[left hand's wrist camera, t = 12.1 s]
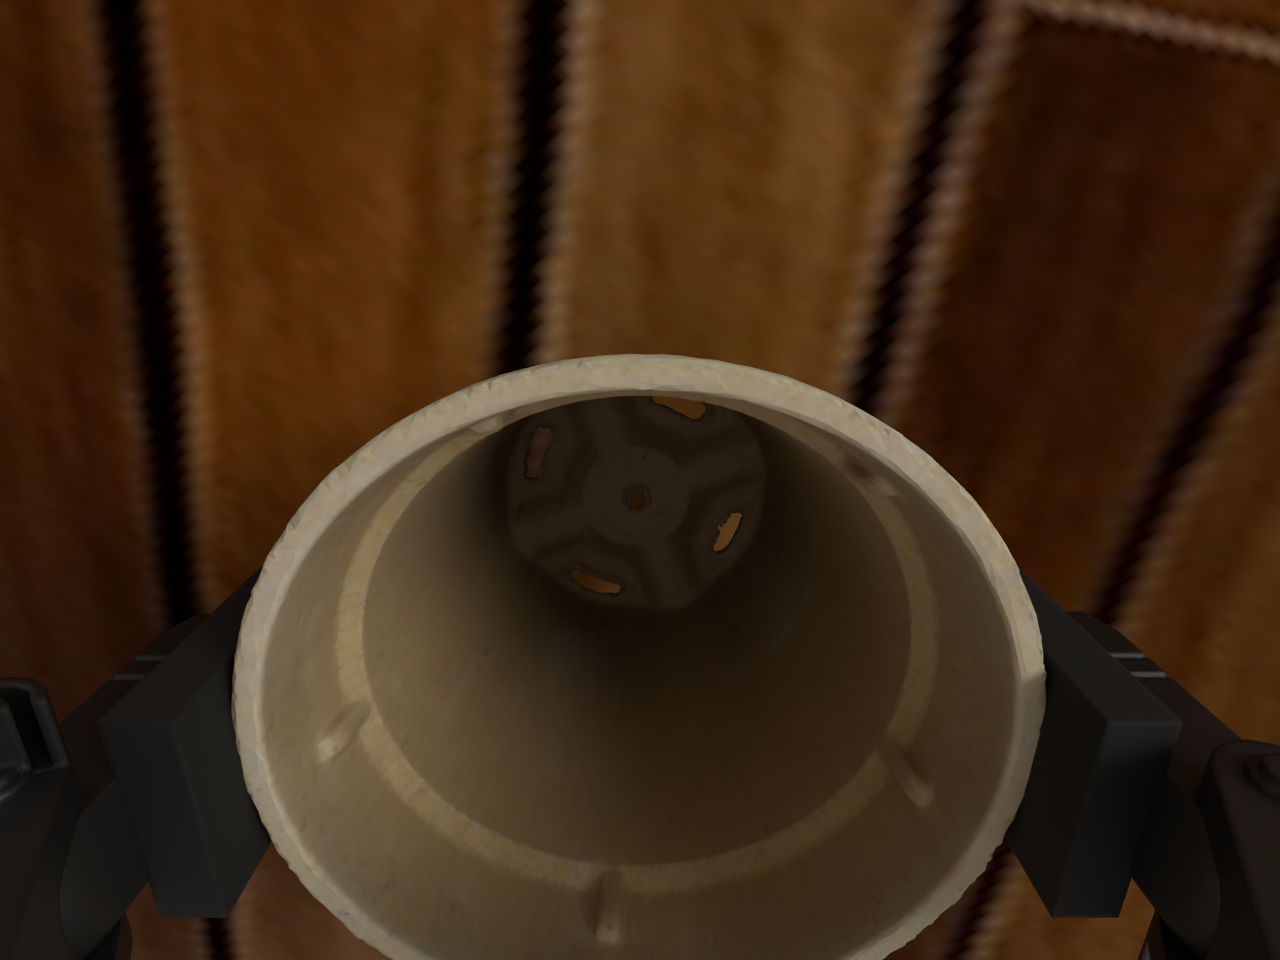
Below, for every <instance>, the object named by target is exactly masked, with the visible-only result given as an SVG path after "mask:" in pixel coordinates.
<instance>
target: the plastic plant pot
mask: <svg viewBox="0 0 1280 960" xmlns="http://www.w3.org/2000/svg"><path fill="white" fill-rule="evenodd" d="M653 396H661V397H677V398H683V399H688V400H693V401H699V402H702V403H703V404H704V406H705V407H706V412H705V413H704V414H703V415H702V416H701V418H699V419H696V420H695V419H691V418H689V417H687V416H685V415H683V414H681V413H679V412H676V411H675V410H673V409H671V408H670V407H668V406H665V405H662V404H660V403H657V404H656V403H654V401H653V399H652V398H653ZM538 427H543V428H550V430H551V431H552V433H553V435H554V440H553V442H552V444H551V445H550V447H549V448H548V450H547V452H546V453H545V455H544V457H543V460H542V463H541V467H540V470H539V473H538V475H537V477H535V478H529V477H527V476H525V473H526V471H527V464H526V458H527V455H528V451H529V448H530V445H531V442H532V439H533V435H534V432H535V431H536V429H537V428H538ZM635 492H640V493H643V495H644V497H645V503H644V504H643V505H642V506H640V507H630V506H629V505H628V503H627V499H626V496H627V495H628V494H631V493H635ZM732 513H741V514H742V517H741V519H740V523H739V525H738V528H737V530H736V531H735V533H734V535H733V538H732V540H731V541H730V543H729V544H728V545H727V546H726V547H725V548H724V549H722V550H720V551H714V549H713V545H714V544H715V543H716V541H717V538H718V537H719V534H720V530H718V526H719V525H720V526H721V527H722V526H723V525H724V524H725V523H726V522H727V519H728V518H729V517H730V515H731V514H732ZM573 569H578V570H580V571H581V572H584V573H587V574H589V575H592V576H594V577H597V578H600V579H602V580H604V581H606V582H610V583H617V584H619V585H620V586H621V589H620V592H619V593H600V592H596V591H594V590H593V589H589V588H585V587H584V586H581V585H580V584H578V583H577V582H576V580H575V579H574V578H573V577H572V575H571V571H572V570H573ZM1041 640H1042V637H1041V634H1040V631H1039V625H1038V621H1037V616H1036V613H1035V610H1034V608H1033V605H1032V603H1031V600H1030V598H1029V595H1028V593H1027V590H1026V588H1025V586H1024V583H1023V581H1022V578H1021V576H1020V573H1019V568H1018V566H1017V565H1016V563H1015V561H1014V559H1013V557H1012V555H1011V553H1010V552H1009V550H1008V548H1007V546H1006V545H1005V543H1004V541H1003V540H1002V538H1001V536H1000V535H999V533H998V532H997V531H996V529H995V528H994V526H993V525H992V523H991V522H990V521H989V519H988V518H987V516H986V515H985V513H984V512H983V511H982V509H981V508H980V507H979V505H978V504H977V503H976V502H975V500H974V499H973V498H972V496H971V495H970V494H969V493H968V492H967V491H966V490H965V489H964V488H963V487H962V486H961V485H960V484H959V483H958V482H957V481H956V480H955V479H954V478H953V477H952V476H951V475H949V474H948V473H947V472H946V471H945V470H944V469H943V468H942V467H941V466H940V465H939V464H938V463H937V462H936V461H934V460H933V459H932V458H931V457H930V456H929V455H928V454H927V453H925V452H924V451H923V450H921V449H920V448H919V447H918V446H916V445H915V444H913V443H912V442H910V441H909V440H908V439H906V438H905V437H904V436H903V435H902V434H900V433H899V432H897V431H895V430H894V429H892V428H891V427H889V426H888V425H886V424H884V423H883V422H881V421H879V420H878V419H876V418H874V417H873V416H871V415H869V414H868V413H866V412H864V411H862V410H860V409H859V408H857V407H855V406H853V405H851V404H849V403H847V402H846V401H844V400H842V399H840V398H838V397H836V396H834V395H832V394H829V393H827V392H825V391H822V390H820V389H817V388H815V387H812V386H810V385H807V384H805V383H802V382H800V381H797V380H794V379H792V378H789V377H787V376H783V375H779V374H775V373H772V372H768V371H764V370H760V369H756V368H752V367H748V366H742V365H736V364H731V363H727V362H722V361H717V360H710V359H699V358H692V357H686V356H678V355H665V354H653V355H643V354H620V355H604V356H593V357H585V358H576V359H568V360H561V361H556V362H551V363H546V364H541V365H537V366H533V367H529V368H525V369H522V370H518V371H514V372H510V373H506V374H502V375H499V376H496V377H493V378H490V379H487V380H485V381H482V382H479V383H476V384H473V385H471V386H468V387H466V388H464V389H462V390H459V391H457V392H455V393H453V394H451V395H448V396H446V397H444V398H442V399H440V400H438V401H436V402H434V403H432V404H430V405H428V406H426V407H424V408H422V409H420V410H418V411H416V412H414V413H413V414H411V415H409V416H407V417H406V418H404V419H402V420H401V421H399V422H397V423H396V424H394V425H392V426H391V427H389V428H388V429H386V430H385V431H383V432H382V433H381V434H379V435H378V436H376V437H375V438H373V439H372V440H371V441H369V442H368V443H367V444H365V445H364V446H363V447H361V448H360V449H359V450H358V451H356V452H355V453H354V454H353V455H351V456H350V457H349V458H348V459H347V460H346V461H344V462H343V463H342V464H341V465H339V466H338V467H337V468H335V469H334V470H332V471H331V472H330V474H329V475H328V476H327V477H326V478H325V479H324V480H323V481H322V482H321V483H320V484H319V485H318V486H317V488H316V489H315V490H314V491H313V492H312V493H311V494H310V495H309V496H308V498H307V499H306V500H305V502H304V503H303V504H302V505H301V507H300V508H299V509H298V510H297V512H296V514H295V515H294V516H293V517H292V519H291V520H290V522H289V523H288V525H287V527H286V529H285V530H284V532H283V534H282V535H281V537H280V538H279V540H278V541H277V542H276V544H275V545H274V546H273V548H272V550H271V551H270V553H269V555H268V556H267V558H266V560H265V562H264V564H263V567H262V571H261V573H260V576H259V578H258V581H257V582H256V584H255V586H254V587H253V589H252V591H251V597H250V599H249V601H248V603H247V605H246V609H245V612H244V616H243V619H242V623H241V627H240V631H239V637H238V644H237V648H236V652H235V664H234V672H233V683H232V707H231V708H232V719H233V726H234V731H235V737H236V744H237V749H238V753H239V755H240V760H241V766H242V770H243V776H244V780H245V783H246V787H247V792H248V793H249V794H250V796H251V798H252V800H253V802H254V804H255V806H256V808H257V809H258V812H259V815H260V818H261V821H262V823H263V825H264V826H265V827H266V829H267V831H268V833H269V835H270V838H271V840H272V842H273V843H274V845H275V847H276V850H277V852H278V853H279V854H280V855H281V856H282V857H283V858H284V859H285V860H286V861H287V863H288V866H289V869H291V870H292V871H293V872H294V873H295V874H296V875H297V876H298V878H299V880H300V881H301V883H302V884H303V885H304V886H305V887H306V888H307V889H308V890H309V892H310V893H311V894H312V895H313V896H314V898H316V899H317V900H318V901H320V902H321V903H322V904H323V905H324V906H325V907H326V908H327V909H328V910H329V911H330V912H331V913H332V914H333V915H335V916H336V917H337V918H338V919H340V920H341V921H342V922H343V923H344V924H345V926H346V927H347V928H348V929H349V930H350V931H351V932H352V933H353V934H354V935H355V936H356V937H357V938H359V939H362V940H364V941H365V942H366V943H367V944H368V945H370V946H372V947H374V948H376V949H377V950H379V951H380V952H381V953H383V954H384V955H386V956H387V957H389V958H391V959H393V960H882V959H884V958H885V957H886V956H887V955H888V954H889V953H891V952H893V951H895V950H897V949H899V948H901V947H903V946H905V944H906V943H907V942H908V941H910V940H912V939H915V937H916V935H917V934H918V933H920V932H921V931H922V929H924V928H925V927H926V926H928V925H930V924H933V922H934V921H935V919H936V918H937V917H938V916H939V915H940V914H941V913H942V912H944V911H945V910H946V909H947V908H948V907H950V906H951V905H953V904H955V903H956V902H957V901H958V900H959V899H960V897H961V896H962V894H963V892H964V891H965V890H966V888H967V887H968V886H969V885H970V884H971V883H973V882H975V880H976V878H977V877H978V876H979V875H980V874H981V873H982V872H984V871H985V869H986V865H987V862H988V861H990V860H991V859H992V853H993V851H994V849H995V848H996V847H997V846H998V845H1000V844H1002V841H1003V837H1004V834H1005V832H1006V831H1007V829H1008V827H1009V825H1010V824H1011V823H1012V821H1013V820H1014V818H1015V815H1016V812H1017V810H1018V808H1019V806H1020V803H1021V801H1022V800H1023V797H1024V793H1025V789H1026V785H1027V782H1028V779H1029V775H1030V771H1031V767H1032V763H1033V758H1034V755H1035V751H1036V747H1037V743H1038V739H1039V735H1040V728H1041V725H1042V721H1043V717H1044V712H1045V705H1046V686H1045V679H1046V671H1045V669H1044V664H1043V649H1042V643H1041Z"/></svg>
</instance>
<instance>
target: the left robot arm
mask: <svg viewBox="0 0 1280 960" xmlns="http://www.w3.org/2000/svg"><path fill="white" fill-rule="evenodd" d="M262 567H263V566H262ZM262 567H260V568H259V569H258V570H257V571H256V572H255V573H254V574H253V575H252V576H251V577H250V578H249V579H248V580H247V581H246V582H245V583H244V584H242V585H241V586H240V587H239V588H238V589H237V590H236V591H235V592H234V593H233V594H232V595H231V596H230V597H229V598H228V599H227V600H225V601H224V602H223V603H222V604H221V605H220V606H219V607H218V608H217V609H216V610H215V611H214V612H213V613H212V614H197V615H195V616H193V617H191V618H189V619H188V620H186V621H184V622H182V623H180V624H178V625H176V626H175V627H173V628H171V629H169V630H167V631H165V632H164V633H162V634H160V635H159V636H158V637H157V638H156V639H155V640H154V641H153V642H151V643H150V644H149V645H148V646H147V647H146V648H145V649H144V650H142V651H141V652H140V653H139V654H138V655H137V656H136V660H135V661H130V662H129V663H128V664H127V665H125V666H124V667H123V668H122V669H121V670H120V671H119V672H118V673H116V674H115V675H114V680H109V681H107V682H106V683H105V684H104V685H103V686H102V687H101V688H99V689H98V690H97V691H96V692H95V693H94V694H93V695H92V696H90V697H89V698H88V699H87V700H86V701H85V702H84V703H83V704H81V705H80V706H79V707H78V708H77V709H76V710H75V711H74V712H72V713H71V714H70V715H69V716H68V717H67V718H66V719H65V720H63V721H62V722H61V723H60V724H59V723H58V721H57V718H56V715H55V712H54V709H53V706H52V704H51V701H50V698H49V695H48V692H47V690H46V687H45V685H43V684H41V683H39V682H38V681H36V680H34V679H31V678H17V677H7V678H0V960H130V958H131V951H132V944H133V940H132V934H131V927H130V924H129V921H128V918H127V915H126V912H125V911H126V910H127V908H128V907H129V906H130V904H131V903H132V902H133V900H134V899H135V898H136V896H137V895H138V893H139V892H140V891H141V889H142V888H143V887H144V885H145V884H146V883H147V881H149V884H150V887H151V890H152V893H153V896H154V899H155V902H156V905H157V908H158V911H159V914H160V917H161V918H227V917H228V916H229V914H230V912H231V910H232V909H233V907H234V905H235V903H236V902H237V900H238V898H239V897H240V895H241V893H242V891H243V890H244V888H245V886H246V885H247V883H248V881H249V879H250V878H251V876H252V874H253V873H254V871H255V869H256V867H257V866H258V864H259V862H260V861H261V859H262V857H263V855H264V854H265V852H266V850H267V849H268V847H269V845H270V843H271V842H272V840H271V838H270V835H269V833H268V831H267V829H266V827H265V826H264V825H263V823H262V821H261V818H260V815H259V812H258V809H257V808H256V806H255V804H254V802H253V800H252V798H251V796H250V794H249V793H248V792H247V787H246V783H245V780H244V776H243V770H242V766H241V760H240V755H239V753H238V749H237V744H236V737H235V731H234V726H233V719H232V708H231V707H232V683H233V672H234V664H235V652H236V648H237V644H238V637H239V631H240V627H241V623H242V619H243V616H244V612H245V609H246V605H247V603H248V601H249V599H250V597H251V591H252V589H253V587H254V586H255V584H256V582H257V581H258V578H259V576H260V573H261V571H262ZM1018 568H1019V567H1018ZM1019 573H1020V576H1021V578H1022V581H1023V583H1024V586H1025V588H1026V590H1027V593H1028V595H1029V598H1030V600H1031V603H1032V605H1033V608H1034V610H1035V613H1036V616H1037V621H1038V625H1039V631H1040V634H1041V637H1042V640H1041V643H1042V649H1043V664H1044V669H1045V671H1046V679H1045V686H1046V705H1045V712H1044V717H1043V721H1042V725H1041V728H1040V735H1039V739H1038V743H1037V747H1036V751H1035V755H1034V758H1033V763H1032V767H1031V771H1030V775H1029V779H1028V782H1027V785H1026V789H1025V793H1024V797H1023V800H1022V801H1021V803H1020V806H1019V808H1018V810H1017V812H1016V815H1015V818H1014V820H1013V821H1012V823H1011V824H1010V825H1009V827H1008V829H1007V831H1006V832H1005V834H1004V836H1005V838H1006V839H1007V841H1008V843H1009V845H1010V846H1011V848H1012V850H1013V852H1014V853H1015V855H1016V857H1017V858H1018V860H1019V862H1020V864H1021V865H1022V867H1023V869H1024V870H1025V872H1026V874H1027V876H1028V877H1029V879H1030V881H1031V882H1032V884H1033V886H1034V888H1035V889H1036V891H1037V893H1038V894H1039V896H1040V898H1041V900H1042V901H1043V903H1044V905H1045V906H1046V908H1047V910H1048V912H1049V913H1050V915H1051V917H1119V914H1120V911H1121V908H1122V905H1123V902H1124V899H1125V896H1126V893H1127V890H1128V887H1129V884H1130V881H1131V878H1133V880H1134V881H1135V882H1136V884H1137V885H1138V886H1139V888H1140V889H1141V890H1142V892H1143V893H1144V895H1145V896H1146V897H1147V899H1148V900H1149V901H1150V903H1151V904H1152V905H1153V907H1154V908H1155V909H1156V910H1155V912H1154V915H1153V918H1152V921H1151V924H1150V926H1149V929H1148V932H1147V935H1146V938H1145V941H1144V943H1143V946H1142V949H1141V952H1140V955H1139V958H1138V960H1280V746H1278V745H1275V744H1270V743H1264V742H1258V741H1252V740H1242V739H1241V738H1239V737H1238V736H1237V735H1236V734H1235V733H1234V732H1233V731H1231V730H1230V729H1229V728H1228V727H1227V726H1226V725H1225V724H1224V723H1222V722H1221V721H1220V720H1219V719H1218V718H1217V717H1216V716H1214V715H1213V714H1212V713H1211V712H1210V711H1209V710H1208V709H1206V708H1205V707H1204V706H1203V705H1202V704H1201V703H1200V702H1199V701H1197V700H1196V699H1195V698H1194V697H1193V696H1192V695H1191V694H1189V693H1188V692H1187V691H1186V690H1185V689H1184V688H1183V687H1181V686H1180V685H1179V684H1178V683H1177V682H1176V681H1175V680H1173V679H1172V678H1167V677H1166V672H1164V671H1163V670H1162V669H1161V668H1160V667H1159V666H1158V665H1156V664H1155V663H1154V662H1153V661H1152V660H1151V659H1150V658H1145V657H1144V653H1143V652H1142V651H1141V650H1139V649H1138V648H1137V647H1136V646H1135V645H1134V644H1133V643H1131V642H1130V641H1129V640H1128V639H1127V638H1126V637H1125V636H1123V635H1122V634H1121V633H1120V632H1119V631H1117V630H1116V629H1114V628H1112V627H1110V626H1108V625H1106V624H1104V623H1102V622H1101V621H1099V620H1097V619H1095V618H1093V617H1091V616H1089V615H1088V614H1086V613H1084V612H1065V611H1064V610H1063V609H1062V608H1061V607H1060V606H1059V605H1058V604H1057V603H1056V602H1055V601H1054V600H1053V599H1052V598H1051V597H1049V596H1048V595H1047V594H1046V593H1045V592H1044V591H1043V590H1042V589H1041V588H1040V587H1039V586H1038V585H1037V584H1036V583H1035V582H1034V581H1033V580H1031V579H1030V578H1029V577H1028V576H1027V575H1026V574H1025V573H1024V572H1023V571H1022V570H1021V569H1020V568H1019Z"/></svg>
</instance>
